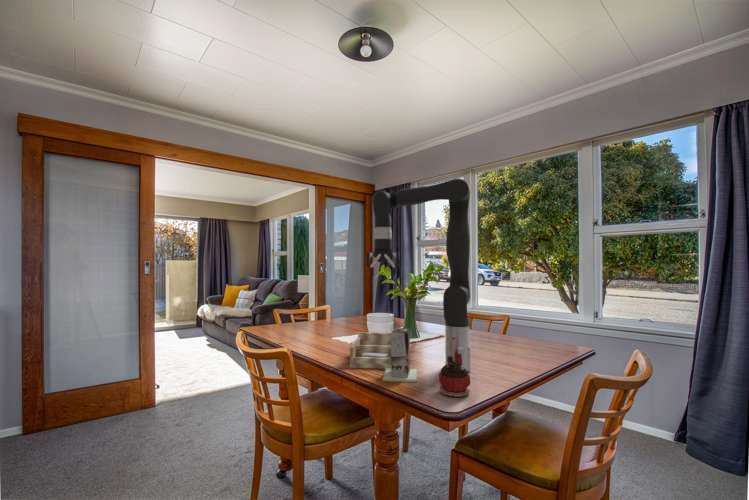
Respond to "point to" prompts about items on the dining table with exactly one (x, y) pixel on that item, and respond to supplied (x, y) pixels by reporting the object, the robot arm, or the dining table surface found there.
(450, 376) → the red potted plant
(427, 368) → the dining table surface
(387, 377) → the mat
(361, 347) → the crate
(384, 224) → the robot arm
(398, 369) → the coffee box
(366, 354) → the offcut upper
